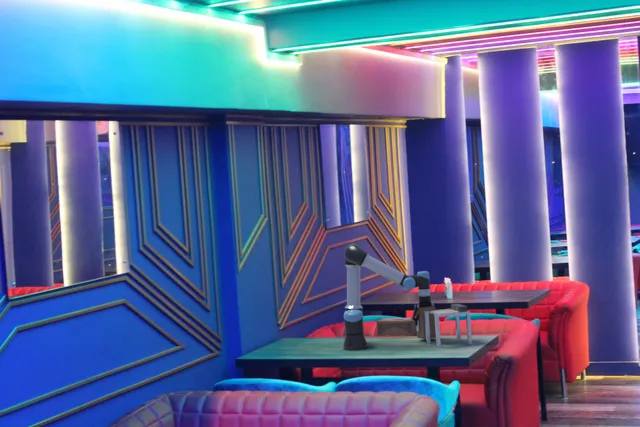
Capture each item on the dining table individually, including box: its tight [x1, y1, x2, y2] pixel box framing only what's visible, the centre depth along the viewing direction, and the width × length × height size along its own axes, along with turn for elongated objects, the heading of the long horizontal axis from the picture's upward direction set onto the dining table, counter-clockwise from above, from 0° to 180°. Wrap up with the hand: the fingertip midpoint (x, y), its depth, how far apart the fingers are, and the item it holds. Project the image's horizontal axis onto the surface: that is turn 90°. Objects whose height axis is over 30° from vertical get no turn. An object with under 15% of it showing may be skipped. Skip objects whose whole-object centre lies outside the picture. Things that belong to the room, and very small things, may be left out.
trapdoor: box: [429, 303, 468, 315], centre depth 590 cm, size 17×19×4 cm
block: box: [415, 305, 436, 340], centre depth 609 cm, size 10×10×20 cm
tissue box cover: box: [376, 317, 417, 337], centre depth 645 cm, size 26×14×10 cm, turn 63°
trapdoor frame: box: [424, 308, 473, 349], centre depth 590 cm, size 22×22×20 cm
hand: (426, 330), depth 609 cm, fingers closed on block, 11 cm apart
